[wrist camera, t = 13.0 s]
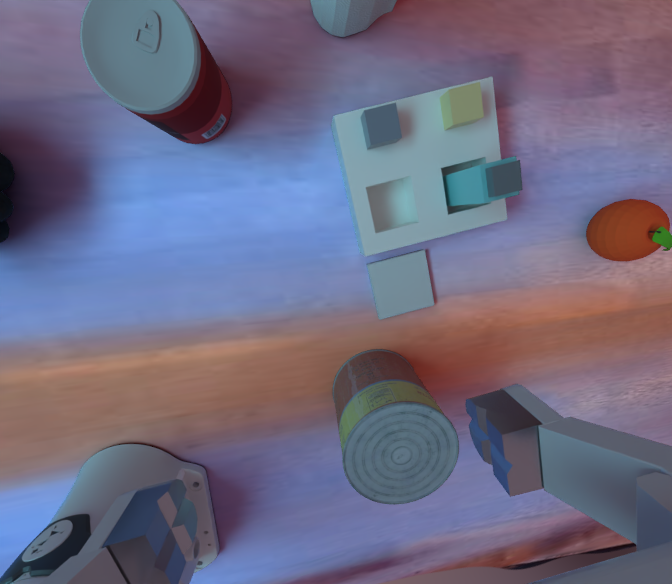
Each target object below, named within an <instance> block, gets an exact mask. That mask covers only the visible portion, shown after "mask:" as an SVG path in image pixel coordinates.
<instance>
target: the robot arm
mask: <svg viewBox="0 0 672 584" xmlns="http://www.w3.org/2000/svg"><path fill="white" fill-rule="evenodd" d="M466 411H467V413H468V414H469V416H470V417H471V418H472V420H471V422H470V424H469V429H470V434H471V437H472V440H473V443H474V446H475V447H476V449H477V451H478V453H479V455H480V456H481V457H482V459H483V460H484V461H485V462H487V463H489V464H491V465H493V472H494V475H495V477H496V478H497V480H498V481H499V482H500V484H501V485H502V486H503V488H504V489H505V490H506V492H507V493H508V494H509V496H510V497H511V496H515V495H519V494H523V493H527V492H531V491H535V490H539V489H543V488H544V490H545V491H547V492H548V493H550V494H552V495H553V496H555V497H557V498H559V499H560V500H562V501H564V502H565V503H567V504H569V505H571V506H572V507H574V508H576V509H577V510H579V511H581V512H582V513H584V514H586V515H588V516H589V517H591V518H593V519H594V520H596V521H598V522H600V523H601V524H603V525H605V526H606V527H608V528H610V529H611V530H613V531H615V532H617V533H618V534H620V535H622V536H623V537H625V538H627V539H629V540H630V541H632V542H634V543H635V544H637V552H633V553H630V554H627V555H623V556H620V557H616V558H613V559H609V560H606V561H603V562H599V563H596V564H593V565H589V566H586V567H582V568H579V569H576V570H572V571H569V572H565V573H562V574H559V575H555V576H552V577H548V578H545V579H542V580H538V581H535V582H531V583H528V584H672V446H669V445H665V444H662V443H658V442H655V441H651V440H648V439H645V438H641V437H638V436H634V435H631V434H627V433H624V432H620V431H617V430H614V429H610V428H607V427H603V426H600V425H596V424H593V423H589V422H586V421H583V420H579V419H576V418H572V417H568V418H563V417H562V416H561V415H559V414H558V413H557V412H556V411H554V410H553V409H552V408H550V407H549V406H548V405H547V404H545V403H544V402H543V401H541V400H540V399H539V398H538V397H536V396H535V395H534V394H532V393H531V392H530V391H528V390H527V389H526V388H525V387H523V386H522V385H519V384H515V385H512V386H509V387H505V388H502V389H500V390H497V391H494V392H490V393H487V394H483V395H480V396H476V397H472V398H469V399H466ZM196 482H198V483H196ZM218 553H219V542H218V536H217V530H216V525H215V519H214V513H213V508H212V502H211V496H210V491H209V485H208V479H207V474H206V470H205V469H204V468H203V467H202V466H199V465H196V464H192V463H188V462H183V461H180V460H178V459H176V458H175V457H173V456H171V455H170V454H168V453H166V452H164V451H162V450H160V449H157V448H154V447H151V446H146V445H140V444H123V445H117V446H113V447H109V448H107V449H104V450H102V451H100V452H98V453H96V454H95V455H93V456H92V457H91V458H90V459H89V460H88V461H87V462H86V463H85V464H84V465H83V467H82V468H81V470H80V472H79V474H78V476H77V479H76V481H75V483H74V484H73V486H72V488H71V490H70V492H69V493H68V495H67V497H66V498H65V500H64V502H63V503H62V505H61V506H60V508H59V509H58V511H57V512H56V514H55V515H54V517H53V518H52V520H51V521H50V523H49V524H48V526H47V527H46V528H45V529H44V530H43V531H42V532H41V533H40V534H39V535H38V536H37V537H36V538H35V539H34V540H33V541H32V542H31V543H30V544H29V545H28V546H27V547H26V548H25V550H24V551H23V552H22V553H21V554H20V555H19V556H18V557H17V559H16V560H15V561H14V562H13V563H12V565H11V566H10V567H9V568H8V569H7V571H6V572H5V573H4V574H3V575H2V577H1V578H0V584H189V583H190V581H191V579H192V576H193V574H194V573H195V572H197V571H199V570H201V569H203V568H205V567H206V566H208V565H209V564H210V563H211V562H212V561H214V560H215V559H216V557H217V555H218Z"/></svg>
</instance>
